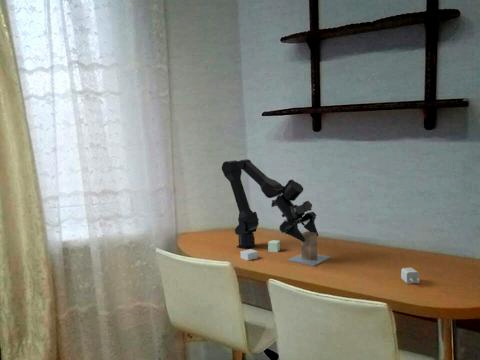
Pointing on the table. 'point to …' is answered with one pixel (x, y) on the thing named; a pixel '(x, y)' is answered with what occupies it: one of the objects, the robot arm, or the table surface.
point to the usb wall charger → (410, 275)
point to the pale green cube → (273, 246)
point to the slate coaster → (309, 262)
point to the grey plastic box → (249, 254)
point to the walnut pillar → (309, 246)
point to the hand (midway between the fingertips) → (311, 238)
